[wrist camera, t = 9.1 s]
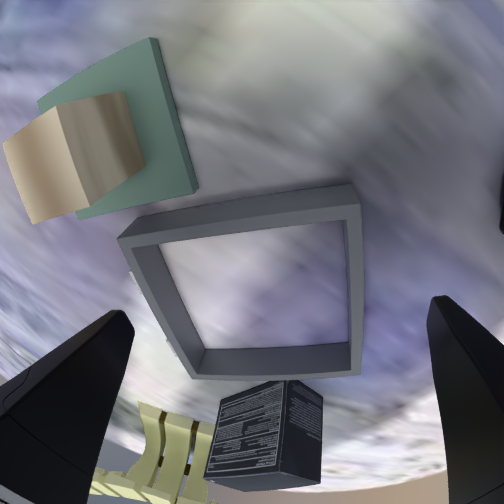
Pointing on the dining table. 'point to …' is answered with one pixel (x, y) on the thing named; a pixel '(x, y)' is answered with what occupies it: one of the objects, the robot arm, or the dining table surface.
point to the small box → (268, 438)
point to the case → (235, 221)
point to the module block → (74, 155)
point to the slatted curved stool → (163, 462)
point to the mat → (136, 125)
